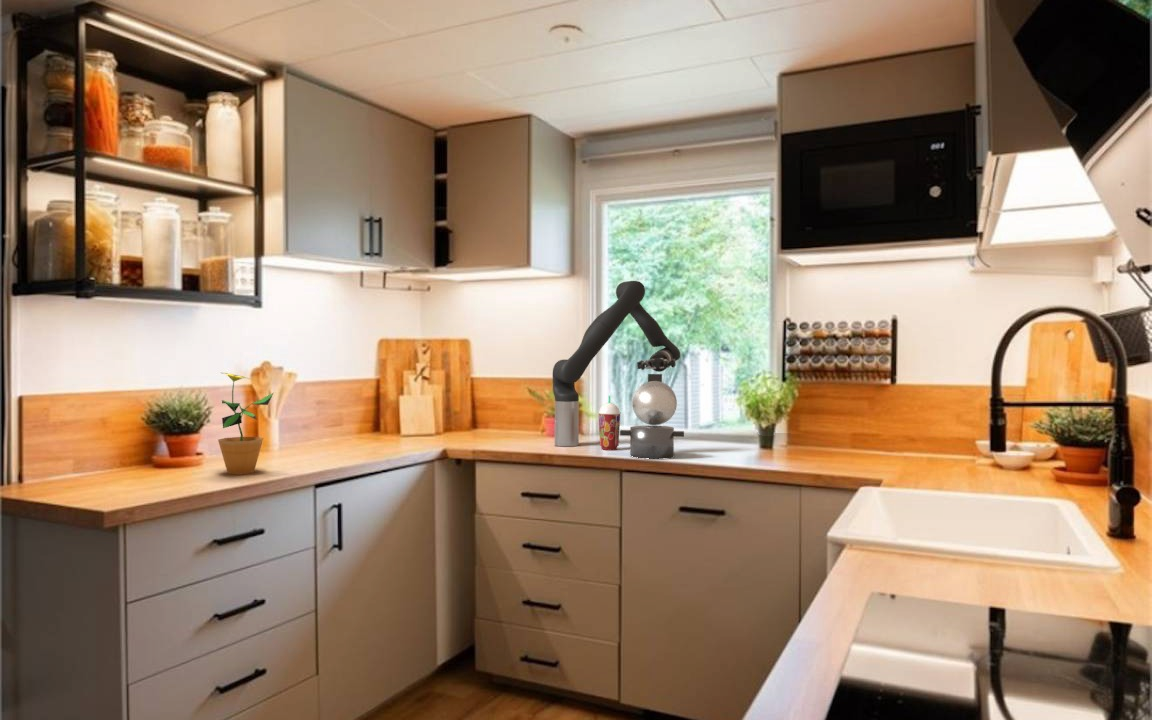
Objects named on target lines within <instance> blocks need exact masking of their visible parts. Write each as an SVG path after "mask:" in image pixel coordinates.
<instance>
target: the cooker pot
mask: <svg viewBox="0 0 1152 720" xmlns="http://www.w3.org/2000/svg"><path fill="white" fill-rule="evenodd" d="M619 436H627V437H629V436H630V438H629V440H630V442H629V444H630V446H629V447H630V448H629V449H630V452H629V453H630V455H631V456H633V457H638V458H637V459H639V458H649V459H648V460H660V459H659V458H669V459H672V458H671V457H673V456H674V455H675V453H674V452H675V447H674V446H675V444H674V443H675V441H674V439H675V438H674V437H678V438H681V437H682V438H684V437H685V431H684V430H675V429H674V427H673V426H670V425H669V426H667V425H635V426H630V428H629V429H621V430H620V429H619ZM631 456H630V457H631ZM633 457H632V458H633ZM673 458H674V457H673Z"/></svg>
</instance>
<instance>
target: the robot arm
mask: <svg viewBox="0 0 1152 720" xmlns="http://www.w3.org/2000/svg"><path fill="white" fill-rule="evenodd" d="M645 294H646V288H645V286H644V284H643V283H642V282H641V281H638V280H628V281H623V282H620V283H619V284H618V285H617V287H616V289H615V295H616V298H617V299H616V301H615V302H614V303H613V304H612V305H611V306H610V307H608V308H607V309H606V310H604V311H603V312H602V313H600V314H599V315H598V316H597V317H596V318H595V319H594V320H593V321H592V322H591V323H590V324H589V326H588V327H587V329H586V330H585V332H584V334H583V337H582V340H581V342H580V344H579V347H578V348H577V349H576V350H575V352H574V353H573V354H572V355H571V356H570V357H569V358H568V359H560V360H558V361H556V363H555V364H554V365H553V368H552V392H553V395H554V447H556V446H557V447H578V446H579V439H580V438H579V435H580V434H579V431H580V430H579V429H580V428H579V427H580V426H579V425H580V424H579V423H580V421H579V420H580V419H579V418H580V417H579V415H580V414H579V410H580V409H579V403H580V401H579V400H580V397H579V395H580V394H579V393H578V392H577V389H576V386H575V383H576V382H578V381H579V380H580V379H581V378H582V376H583V375H584V373H585V371H586V370H587V369H588V367H589V365H590V363H591V362H592V361H593V359H594V358H595V357H596V356H597V355H598V353H599V352H600V350H602V348H603V347H604V345H606V344H607V342H608V341H609V340H610V339H611V338H612V336H613V335H614V334H615V332H616V330H617V329H618V328H619V327H620V325H621V324H622V323H623V322H624V320H625V319H626V318H627V316H628V315H629V314H630V316H631V317H632V318H633V319H634V321H635V322H636V323H637V324H638V327H639V328H640V329H641V331H642V333H643V334H644V336H645V337H646V339H647V341H648V342H649V344H650V345H651V347H653V348H659V347H663V348H661V349H659V350H657V351H656V352H655V353H653V354H652V355H650V358H649V359H645V361H644V360H639V361H638V362H636V364H637V370H642V371H644V370H645V369H646V370H651V369H652V370H653V371H655V372H659V373H661V372H664V371H665V370H666V369H667V368H668V369H669V368H670V367H671V368H675V366H676V361H678V360H680V359H681V351H680V349H679V347H678V346H677V345H675V344H674V343H673V342H672V341H671V340H670V339H669V338H668V337H667V336H666V334H665V333H664V330H663V329H662V328H661V326H660V325H659V323H658V322H657V321H656V320H655V318H654V317H653V316H652V315H650V314H649V312H648V311H647V310H646V309H645V308H644V306H643V305H642V304H641V302H642V301H643V299H644V297H645Z"/></svg>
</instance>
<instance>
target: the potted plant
mask: <svg viewBox="0 0 1152 720" xmlns="http://www.w3.org/2000/svg"><path fill="white" fill-rule="evenodd" d="M221 374H223V375H226V376H227V377H228V378H229V379H230V380H232V382H233V383H232V390H231V399H232V401H231V402H230V401H227V400H224V399H222V400H221V404H225V405H227V406H228V407H229V408H230V410H231V411H232V412H233V414H231V415H227V416H224V417H222V418H221V419H222V429H225V428H228V427H233V426H236V425H238V429H239V434H240V436H234V437H233V436H232V437H224V438H218V439H217V441H218V445H219V448H220V452H221V454H222V459H223V461H224V466H225V469H226V473H227V474H228V475H247V474H249V475H250V474H253V473H255V470H256V467H257V462H258V460H259V455H260V452H261V448H262V444H263V441H264V437H259V436H244V435H243V431H242V428H241V424H242V423H243V421H242V419H243V416H244V415H246V416H248V417H250V418H252V419H255V420H256V421H258V418H257V416H256V415H255V414H254V413H252V412H250V411H248V410H247V409H248V408H249V407H250V406H251V405H259V406H262V405H263V406H268V405H269V403H270V401H271V400H272V397H273V395H274V392H272V393H270V394H268V395H266V396H265V397H263V398H261V399H259V400H257V401H254V402H253V403H252V402H251V403H250V404H249V405H247V406H246V407H245V408H242V407H241V403H239V402H238V403H237V402H234V387H235V382H236V381H239V380H242V379H245V380H246V379H248V380H250V378H249V377H245V376H243V375H238V374H233V373H227V372H221ZM238 407H239V409H240V412H236V411H237V410H238ZM243 414H244V415H243Z"/></svg>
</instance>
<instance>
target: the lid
mask: <svg viewBox="0 0 1152 720" xmlns="http://www.w3.org/2000/svg"><path fill="white" fill-rule="evenodd" d="M631 400H632V401H631V402H632V403H631V405H632V410H633V413H634V414H635V416H636V418H638V420H640V421H641V422H642V423H644V424H646V425H648V426H661V425H664V424H665V423H667V422H668V421H670V420H671V419H672V418H673V416H674V415H675V413H676V411H677V405H678V401H677V396H676V394H675V392H674V389H672V388H671V386H669V384H667V383H664V382H663V374H662V373H648V374H647V382H644V383H643V384H640V385H639V387H638V388H637V389H636V390H635V392H634V394H633V396H632V399H631Z"/></svg>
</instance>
